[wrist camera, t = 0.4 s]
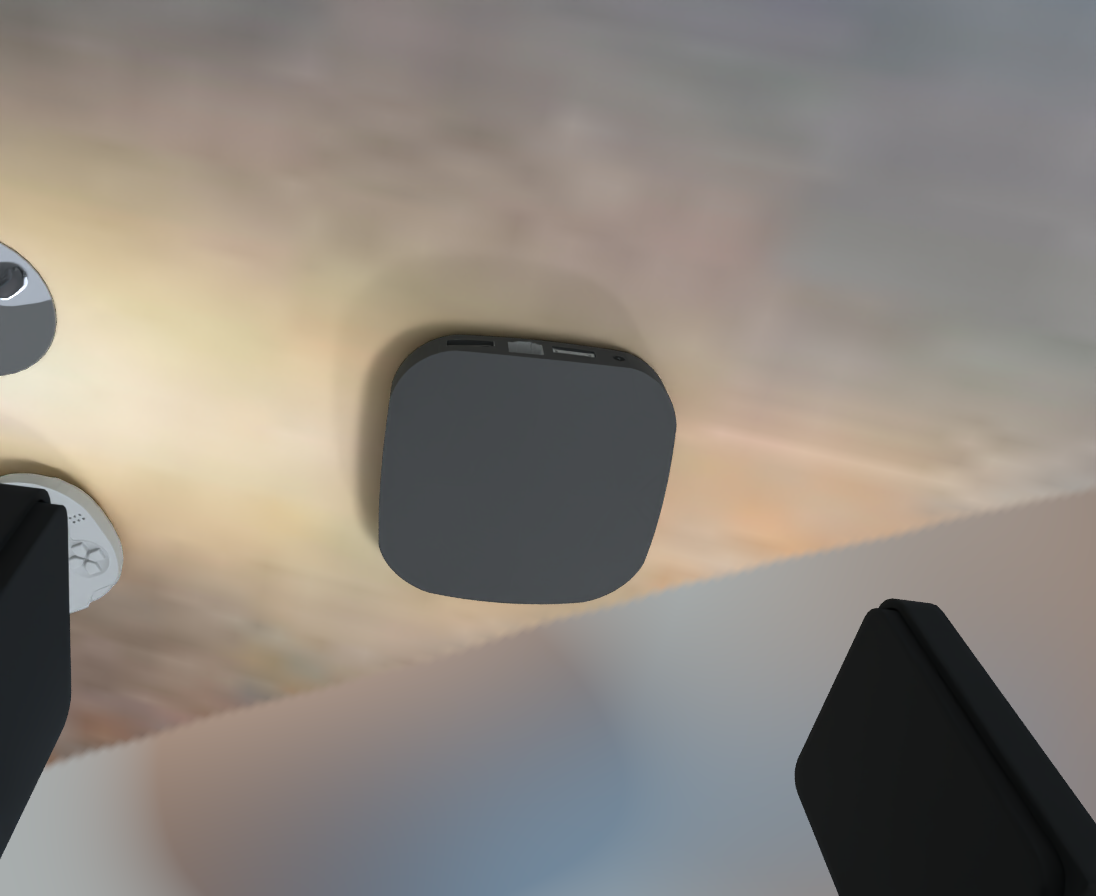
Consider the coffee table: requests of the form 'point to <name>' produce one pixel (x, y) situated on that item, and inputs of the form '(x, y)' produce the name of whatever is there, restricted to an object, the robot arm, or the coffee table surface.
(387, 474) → the media streaming box
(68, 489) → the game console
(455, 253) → the coffee table surface
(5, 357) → the wine glass
